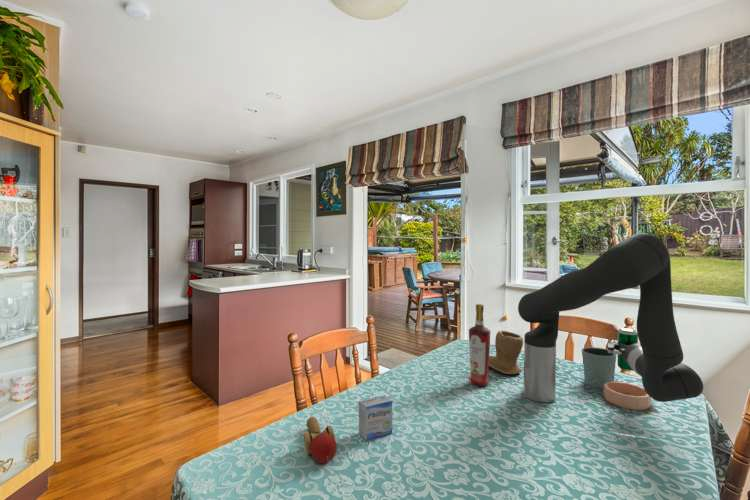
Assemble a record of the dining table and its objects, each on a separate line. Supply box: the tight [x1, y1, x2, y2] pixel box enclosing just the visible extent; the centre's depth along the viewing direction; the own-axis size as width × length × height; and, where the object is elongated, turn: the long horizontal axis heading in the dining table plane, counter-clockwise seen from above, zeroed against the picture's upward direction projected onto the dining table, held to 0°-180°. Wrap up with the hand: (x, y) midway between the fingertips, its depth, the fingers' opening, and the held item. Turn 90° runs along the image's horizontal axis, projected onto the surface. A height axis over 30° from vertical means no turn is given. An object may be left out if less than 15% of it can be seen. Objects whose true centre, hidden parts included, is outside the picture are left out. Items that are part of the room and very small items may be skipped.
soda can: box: [617, 327, 639, 372], centre depth 108 cm, size 5×5×12 cm
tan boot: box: [489, 330, 524, 375], centre depth 137 cm, size 15×12×15 cm
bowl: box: [603, 380, 652, 411], centre depth 108 cm, size 12×12×4 cm
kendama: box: [303, 416, 338, 464], centre depth 85 cm, size 8×6×18 cm
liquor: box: [468, 303, 491, 387], centre depth 123 cm, size 7×7×28 cm
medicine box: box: [358, 395, 393, 442], centre depth 91 cm, size 8×4×9 cm, turn 118°
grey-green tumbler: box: [581, 346, 618, 390], centre depth 121 cm, size 10×10×12 cm
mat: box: [597, 390, 660, 414], centre depth 108 cm, size 13×11×1 cm
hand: (624, 344), depth 110 cm, fingers closed on soda can, 5 cm apart
